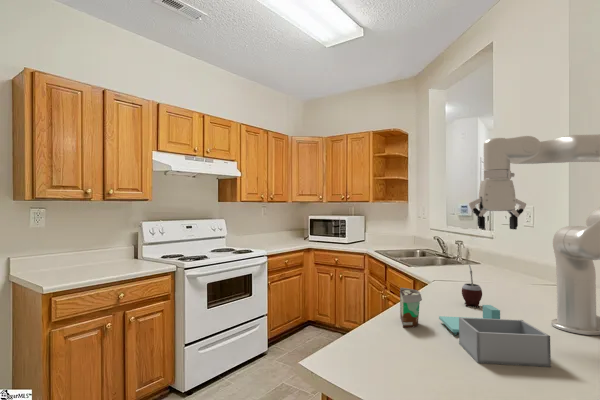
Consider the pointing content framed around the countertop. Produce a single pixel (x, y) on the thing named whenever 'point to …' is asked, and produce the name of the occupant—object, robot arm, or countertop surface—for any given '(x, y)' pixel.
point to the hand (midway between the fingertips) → (497, 228)
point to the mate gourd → (471, 293)
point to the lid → (453, 322)
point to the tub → (504, 342)
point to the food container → (409, 307)
